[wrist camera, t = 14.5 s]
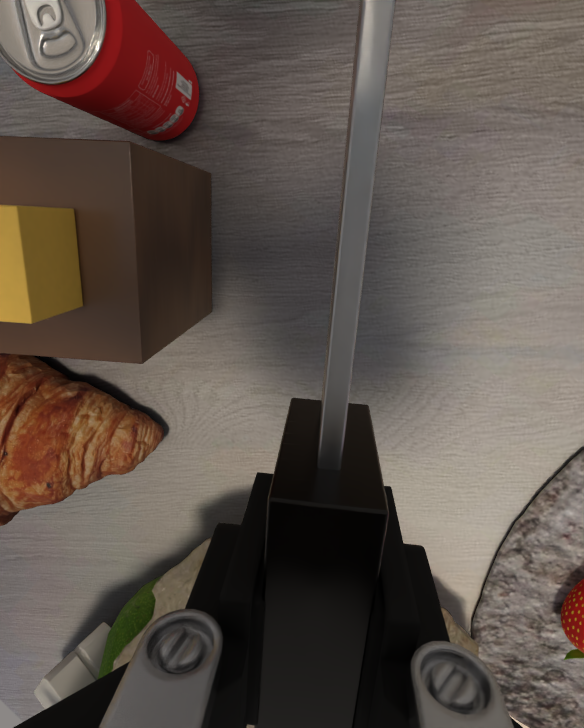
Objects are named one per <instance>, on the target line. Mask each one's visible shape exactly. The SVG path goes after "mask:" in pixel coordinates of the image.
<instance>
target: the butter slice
mask: <svg viewBox="0 0 584 728" xmlns="http://www.w3.org/2000/svg"><path fill="white" fill-rule="evenodd" d="M82 306H83V300H82V289H81V278H80V268H79V257H78V246H77V235H76V224H75V214H74V209H72V208H53V207H35V206H16V205H0V322H14V323H28V324H32V323H35V322H38V321H41V320H44V319H47V318H50V317H53V316H56V315H59V314H62V313H65V312H68V311H70V310H73V309H76V308H79V307H82Z"/></svg>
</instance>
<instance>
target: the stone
mask: <svg viewBox="0 0 584 728" xmlns="http://www.w3.org/2000/svg"><path fill="white" fill-rule="evenodd" d="M211 539H212V537H211V538H208V539H206V540H205V541H204V542H203V543H202V544H201V545H200V546H198V547H197V548H195V549H194V550H193V551H192V552H191V553H190V554H189V555H188V556H187V557H186V558H185V559H184V560H183V561H182V562H181V563H179V564H178V565H176V566H174V567H173V568H172V569H170V570H169V571H168V572H167V573H166V574H165V575H164V576H163V577H161V578H160V579H159V580H158V581H157V582H156V584H155V586H154V588H153V590H152V592H153V594H154V596H155V599H156V602H155V608H154V614H153V617H152V619H151V620H150V621H149V623H148V624H147V625H146V626H145V627H144V628H143V629H142V631H141V632H140V633H139V634H138V635H137V636H135V637H134V639H133V640H132V641H131V642H130V643H129V644H127V645H126V646H125V647H124V649H123V650H122V652H121V653H120V655H119V656H118V657H117V658H116V659H115V660H114V664H113V670H112V671H114V670H115V669H117V668H119V667H121V666H122V665H124V664H126V663H128V662H129V661H130V660H131V658H132V656H133V654H134V652H135V650H136V647H137V645H138V643H139V641H140V639H141V637H142V635H143V634H144V632H145V631H146V629H147V628H148V626H150V625H151V624H152V623H153V622H154V621H155V620H156V619H158V618H159V617H161V616H163V615H165V614H167V613H169V612H172V611H176V610H180V609H185V607H186V604H187V601H188V599H189V596H190V594H191V591H192V588H193V586H194V583H195V581H196V578H197V575H198V573H199V570H200V567H201V565H202V562H203V560H204V557H205V554H206V552H207V549H208V547H209V544H210V541H211ZM441 610H442V613H443V617H444V621H445V624H446V628H447V631H448V635H449V639H450V642H451V643H455V644H458V645H460V646H462V647H464V648H466V649H468V650H470V651H471V652H472V653H474V654H475V655H476V656H477V657H479V655H478V652H479V645H478V643H477V642H476V641H474V640H473V639H472V638H471V637H470V636H469V635H468V634H467V632H466V631H465V630H464V629H463V628H462V627H461V626H459V625H458V624H457V623H455V622H454V620H453V618H452V617H451V615H450V613H449V612H448V611H447V610H446V609H444V608H442V607H441ZM112 671H111V672H112ZM247 728H254V725H248V724H247Z"/></svg>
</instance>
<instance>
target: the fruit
mask: <svg viewBox="0 0 584 728" xmlns="http://www.w3.org/2000/svg"><path fill="white" fill-rule="evenodd" d="M561 625H562V628H563V631H564V633H565V635H566V636H567V638H568V639H569V641H570V642H571V643H572V644H573V645H574V646H575V647H576V648H577V649H573V650H571V651H569V652H568V653H567V654H566V656H565V658H564V660H567V659H573V658H584V579H582V580H581V581H580V582H579V583H578V584H577V585H575V586H574V588H573V589H572V590H571V591H570V592H569V594H568V595H567V597H566V599H565V601H564V603H563V605H562V609H561Z"/></svg>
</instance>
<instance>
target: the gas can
mask: <svg viewBox="0 0 584 728" xmlns="http://www.w3.org/2000/svg"><path fill="white" fill-rule="evenodd" d="M110 630H111V628H110V627H109V625H107V624H106V623H105V622H102V623H101V624H100V625H99V626H98V627H97V628H96V629H95V630H94V631H93V632H92V633H91V634H90V635H89V636H88V637H86V638H85V639H84V640H83V641H82V642H81V643H80V644H79V645H78V646H77V647H76V648H75V650H74V651H73V652H70V653H69V654H68V655H67V656H66V657H65V658H64V659H63V660H62V661H61V662H60V663H59V664H58V665H57V666H55V667H54V668H53V669H52V670H51V671H50V672H49V673H48V674H47V675H46V676H45V677H44V678H43V679H42V681H41V682H40V683H39V685H38V686H37V688H36V689H35V691H34V694H35V696H36V697H37V699H38V700H39V701H40V703H41V704H42V705H43V707H44V708H45V709H47V708H49V707H50V706H52V705H54V704H56V703H57V702H59V701H61V700H63V699H65V698H66V697H68V696H70V695H72V694H73V693H75V692H77V691H79V690H80V689H82V688H84V687H86V686H87V685H89V684H91V683H93V682H94V681H96V680H97V679H98V675H99V670H100V666H101V662H102V658H103V654H104V650H105V645H106V641H107V637H108V633H109V632H110Z"/></svg>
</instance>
